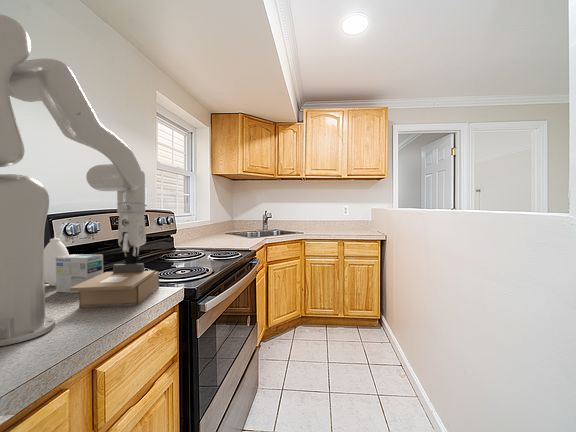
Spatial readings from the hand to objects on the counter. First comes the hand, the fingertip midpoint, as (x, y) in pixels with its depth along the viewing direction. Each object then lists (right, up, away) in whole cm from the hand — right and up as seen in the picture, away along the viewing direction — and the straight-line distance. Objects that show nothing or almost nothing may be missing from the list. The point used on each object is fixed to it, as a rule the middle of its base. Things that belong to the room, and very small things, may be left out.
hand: (132, 268), depth 89 cm
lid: (+1, -2, -10) cm, 10 cm away
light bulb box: (-16, -7, 0) cm, 18 cm away
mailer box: (+1, -7, -6) cm, 9 cm away
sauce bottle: (-28, -7, +6) cm, 29 cm away
